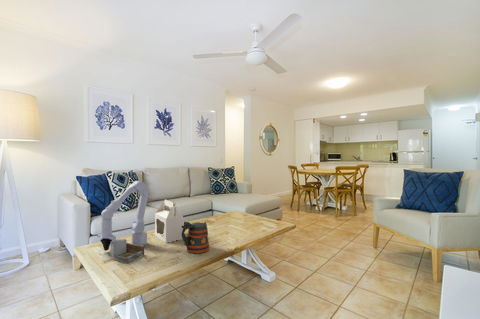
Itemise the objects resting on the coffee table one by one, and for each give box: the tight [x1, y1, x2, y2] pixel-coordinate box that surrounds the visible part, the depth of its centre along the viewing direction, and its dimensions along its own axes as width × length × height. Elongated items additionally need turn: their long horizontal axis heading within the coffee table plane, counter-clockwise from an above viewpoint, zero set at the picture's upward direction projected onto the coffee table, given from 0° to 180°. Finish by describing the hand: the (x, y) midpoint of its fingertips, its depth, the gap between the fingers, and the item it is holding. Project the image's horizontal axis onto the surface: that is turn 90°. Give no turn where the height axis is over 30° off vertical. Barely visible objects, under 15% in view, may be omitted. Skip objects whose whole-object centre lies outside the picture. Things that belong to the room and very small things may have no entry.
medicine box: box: [109, 237, 128, 258], centre depth 140 cm, size 8×4×9 cm, turn 143°
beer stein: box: [182, 221, 210, 254], centre depth 147 cm, size 19×15×20 cm
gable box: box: [154, 199, 184, 244], centre depth 172 cm, size 22×13×28 cm, turn 40°
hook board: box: [114, 242, 145, 264], centre depth 137 cm, size 13×21×5 cm, turn 67°
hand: (106, 249), depth 143 cm, fingers closed
